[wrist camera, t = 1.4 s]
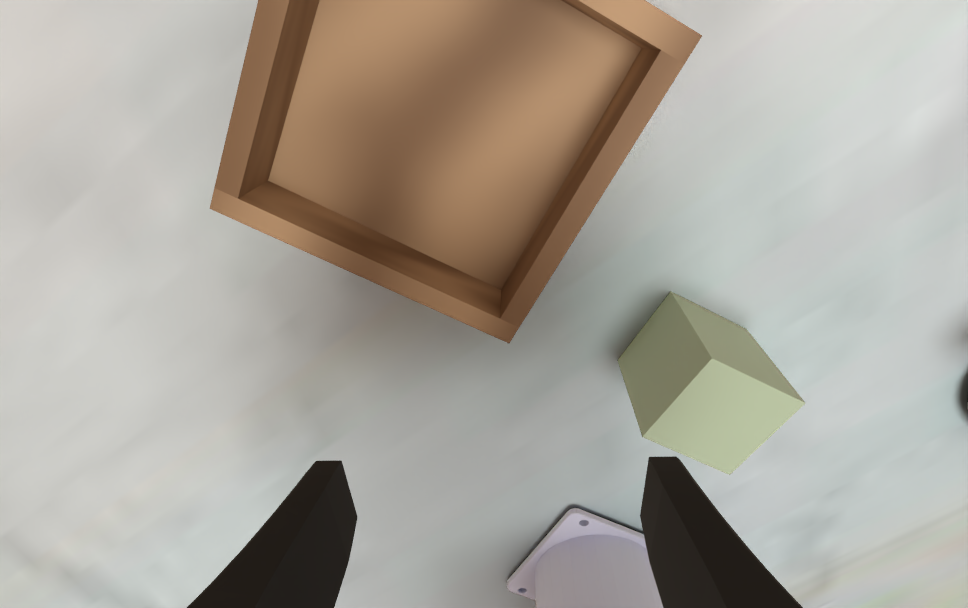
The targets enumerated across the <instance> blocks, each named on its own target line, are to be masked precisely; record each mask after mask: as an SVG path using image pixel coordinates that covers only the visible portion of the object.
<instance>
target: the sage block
mask: <svg viewBox="0 0 968 608" xmlns="http://www.w3.org/2000/svg"><path fill="white" fill-rule="evenodd" d="M618 363H619V366H620V369H621V373H622V376H623V379H624V382H625V385H626V388H627V391H628V394H629V397H630V400H631V403H632V406H633V409H634V413H635V416H636V419H637V422H638V425H639V428H640V431H641V434H642V437H644V438H646V439H648V440H651V441H653V442H655V443H658V444H660V445H662V446H665V447H667V448H669V449H671V450H674V451H676V452H678V453H681V454H683V455H685V456H688V457H690V458H692V459H694V460H697V461H699V462H701V463H704V464H706V465H708V466H711V467H713V468H715V469H717V470H720V471H722V472H724V473H727V474H729V475H730V474H731V473H732V472H733V471H734V470H735V469H736V468H737V467H739V466H740V465H741V464H742V463H743V462H744V461H745V460H746V459H747V458H748V457H749V456H750V455H751V454H752V453H753V452H754V451H755V450H756V449H758V448H759V447H760V446H761V445H762V444H763V443H764V442H765V441H766V440H767V439H768V438H769V437H770V436H771V435H772V434H773V433H774V432H776V431H777V430H778V429H779V428H780V427H781V426H782V425H783V424H784V423H785V422H786V421H787V420H788V419H789V418H790V417H791V416H792V415H793V414H795V413H796V412H797V411H798V410H799V409H800V408H801V407H802V406H803V405H804V404H805V402H804V401H803V399H802V398H801V397H800V396H799V394H798V393H797V392H796V391H795V389H794V388H793V387H792V386H791V384H790V383H789V382H788V381H787V379H786V378H785V377H784V376H783V374H782V373H781V372H780V371H779V369H778V368H777V367H776V365H775V364H774V363H773V362H772V360H771V359H770V358H769V357H768V355H767V354H766V353H765V352H764V350H763V349H762V348H761V347H760V345H759V344H758V343H757V342H756V340H755V339H754V338H753V337H752V335H751V334H750V333H749V332H748V330H747V329H745V328H743V327H741V326H739V325H737V324H735V323H733V322H731V321H729V320H727V319H725V318H723V317H721V316H719V315H717V314H715V313H713V312H711V311H709V310H707V309H705V308H703V307H701V306H699V305H697V304H695V303H693V302H691V301H689V300H687V299H685V298H683V297H681V296H679V295H677V294H675V293H673V292H671V291H670V293H669V294H668V295H667V297H666V298H665V299H664V301H663V302H662V303H661V304H660V306H659V307H658V308H657V310H656V311H655V312H654V314H653V315H652V316H651V317H650V319H649V320H648V321H647V323H646V324H645V325H644V327H643V328H642V329H641V330H640V332H639V333H638V334H637V336H636V337H635V338H634V340H633V341H632V342H631V343H630V345H629V346H628V347H627V349H626V350H625V351H624V353H623V354H622V355H621V356H620V358H619V359H618Z"/></svg>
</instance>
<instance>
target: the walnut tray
mask: <svg viewBox="0 0 968 608" xmlns="http://www.w3.org/2000/svg"><path fill="white" fill-rule="evenodd" d="M701 37H702V35H700V34H698V33H697V32H695V31H694V30H692V29H690V28H689V27H687V26H686V25H684V24H682V23H681V22H679V21H677V20H676V19H674V18H673V17H671V16H669V15H668V14H666V13H664V12H663V11H661V10H660V9H658V8H656V7H655V6H653V5H651V4H650V3H648V2H647V1H645V0H258V4H257V9H256V13H255V17H254V21H253V26H252V30H251V34H250V39H249V43H248V47H247V51H246V56H245V60H244V64H243V68H242V73H241V77H240V81H239V86H238V90H237V94H236V98H235V103H234V107H233V111H232V115H231V120H230V124H229V128H228V133H227V137H226V141H225V145H224V150H223V154H222V158H221V162H220V167H219V171H218V175H217V180H216V184H215V188H214V192H213V197H212V201H211V205H210V209H212V210H214V211H216V212H219V213H221V214H223V215H225V216H227V217H230V218H232V219H234V220H236V221H239V222H241V223H243V224H245V225H247V226H250V227H252V228H254V229H256V230H259V231H261V232H263V233H265V234H267V235H270V236H272V237H274V238H276V239H279V240H281V241H283V242H285V243H287V244H290V245H292V246H294V247H296V248H299V249H301V250H303V251H305V252H307V253H310V254H312V255H314V256H316V257H319V258H321V259H323V260H325V261H327V262H330V263H332V264H334V265H336V266H338V267H341V268H343V269H345V270H347V271H350V272H352V273H354V274H356V275H358V276H361V277H363V278H365V279H367V280H370V281H372V282H374V283H376V284H378V285H381V286H383V287H385V288H387V289H390V290H392V291H394V292H396V293H398V294H401V295H403V296H405V297H407V298H410V299H412V300H414V301H416V302H418V303H421V304H423V305H425V306H427V307H430V308H432V309H434V310H436V311H438V312H441V313H443V314H445V315H447V316H449V317H452V318H454V319H456V320H458V321H461V322H463V323H465V324H467V325H469V326H472V327H474V328H476V329H478V330H481V331H483V332H485V333H487V334H489V335H492V336H494V337H496V338H498V339H501V340H503V341H505V342H507V343H510V341H511V340H512V338H513V336H514V335H515V333H516V332H517V330H518V328H519V327H520V325H521V324H522V322H523V320H524V319H525V317H526V316H527V314H528V313H529V311H530V309H531V308H532V306H533V305H534V303H535V301H536V300H537V298H538V297H539V295H540V293H541V292H542V290H543V289H544V287H545V285H546V284H547V282H548V281H549V279H550V277H551V276H552V274H553V273H554V271H555V269H556V268H557V266H558V265H559V263H560V261H561V260H562V258H563V257H564V255H565V254H566V252H567V250H568V249H569V247H570V246H571V244H572V242H573V241H574V239H575V238H576V236H577V234H578V233H579V231H580V230H581V228H582V226H583V225H584V223H585V222H586V220H587V218H588V217H589V215H590V214H591V212H592V210H593V209H594V207H595V206H596V204H597V203H598V201H599V199H600V198H601V196H602V195H603V193H604V191H605V190H606V188H607V187H608V185H609V183H610V182H611V180H612V179H613V177H614V175H615V174H616V172H617V171H618V169H619V167H620V166H621V164H622V163H623V161H624V159H625V158H626V156H627V155H628V153H629V152H630V150H631V148H632V147H633V145H634V144H635V142H636V140H637V139H638V137H639V136H640V134H641V132H642V131H643V129H644V128H645V126H646V124H647V123H648V121H649V120H650V118H651V116H652V115H653V113H654V112H655V110H656V108H657V107H658V105H659V104H660V102H661V101H662V99H663V97H664V96H665V94H666V93H667V91H668V89H669V88H670V86H671V85H672V83H673V81H674V80H675V78H676V77H677V75H678V73H679V72H680V70H681V69H682V67H683V65H684V64H685V62H686V61H687V59H688V57H689V56H690V54H691V53H692V51H693V50H694V48H695V46H696V45H697V43H698V42H699V40H700V38H701Z"/></svg>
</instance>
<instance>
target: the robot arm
mask: <svg viewBox="0 0 968 608" xmlns="http://www.w3.org/2000/svg"><path fill="white" fill-rule="evenodd" d="M640 517H641V522H642V527H643V533H644V534H642V533H639V532H636V531H634V530H631V529H629V528H626V527H624V526H621V525H619V524H616V523H614V522H611V521H609V520H606V519H604V518H601V517H599V516H596V515H594V514H591V513H589V512H586V511H584V510H581V509H578V508H573V509H570V510H569V511H567V512H566V514H565V515H564V516H563V517H562V518H561V519H560V520H559V522H558V523H557V524H556V525H555V526H554V527H553V529H552V530H551V531H550V532H549V533H548V534H547V535H546V537H545V538H544V539H543V540H542V541H541V542H540V543H539V545H538V546H537V547H536V548H535V549H534V550H533V551H532V553H531V554H530V555H529V556H528V557H527V558H526V560H525V561H524V562H523V563H522V564H521V565H520V566H519V568H518V569H517V570H516V571H515V572H514V573H513V574H512V576H511V577H510V578H509V579H508V581H507V589H508V590H509V591H511V592H513V593H516V594H519V595H522V596H525V597H527V598H530V599H533V600H536V608H803V607H802V606H801V605H800V604H799V603H798V602H797V601H796V600H795V599H794V598H793V597H792V596H791V595H790V594H789V593H788V592H787V591H786V589H785V588H784V587H783V586H782V585H781V584H780V583H779V582H778V581H777V580H776V579H775V577H774V576H773V575H772V574H771V573H770V572H769V571H768V570H767V569H766V568H765V566H764V565H763V564H762V563H761V562H760V561H759V560H758V558H757V557H756V556H755V555H754V554H753V553H752V552H751V550H750V549H749V548H748V547H747V546H746V544H745V543H744V542H743V541H742V540H741V538H740V537H739V536H738V535H737V534H736V532H735V531H734V530H733V529H732V528H731V526H730V525H729V524H728V523H727V522H726V520H725V519H724V518H723V517H722V515H721V514H720V513H719V512H718V510H717V509H716V508H715V506H714V505H713V504H712V503H711V501H710V500H709V499H708V497H707V496H706V495H705V493H704V492H703V491H702V489H701V488H700V487H699V485H698V484H697V483H696V481H695V480H694V479H693V477H692V476H691V474H690V473H689V472H688V470H687V469H686V468H685V466H684V465H683V463H682V462H681V461H680V460H679V459H678V458H677V457H649V461H648V468H647V474H646V481H645V488H644V494H643V501H642V507H641V514H640ZM356 521H357V514H356V511H355V507H354V503H353V500H352V496H351V493H350V489H349V486H348V482H347V479H346V475H345V472H344V468H343V464H342V461H316V462H315V463H314V464H313V465H312V466H311V468H310V469H309V470H308V471H307V472H306V474H305V475H304V476H303V477H302V479H301V480H300V481H299V482H298V484H297V485H296V486H295V487H294V489H293V490H292V491H291V492H290V494H289V495H288V496H287V497H286V499H285V500H284V501H283V502H282V503H281V505H280V506H279V507H278V508H277V510H276V511H275V512H274V513H273V514H272V516H271V517H270V518H269V519H268V520H267V521H266V523H265V524H264V525H263V526H262V527H261V528H260V530H259V531H258V532H257V533H256V534H255V536H254V537H253V538H252V539H251V540H250V541H249V542H248V544H247V545H246V546H245V547H244V548H243V549H242V550H241V551H240V553H239V554H238V555H237V556H236V557H235V558H234V559H233V560H232V561H231V562H230V563H229V564H228V566H227V567H226V568H225V569H224V570H223V571H222V572H221V573H220V574H219V575H218V576H217V577H216V579H215V580H214V581H213V582H212V583H211V584H210V585H209V586H208V587H207V588H206V589H205V590H204V591H203V592H202V593H201V594H200V595H199V596H198V597H197V598H196V599H195V600H194V601H193V602H192V603H191V604H190V605H189V606H188V607H187V608H334V606H335V603H336V600H337V597H338V594H339V590H340V587H341V584H342V581H343V578H344V575H345V571H346V568H347V565H348V561H349V557H350V552H351V547H352V543H353V537H354V532H355V527H356Z"/></svg>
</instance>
